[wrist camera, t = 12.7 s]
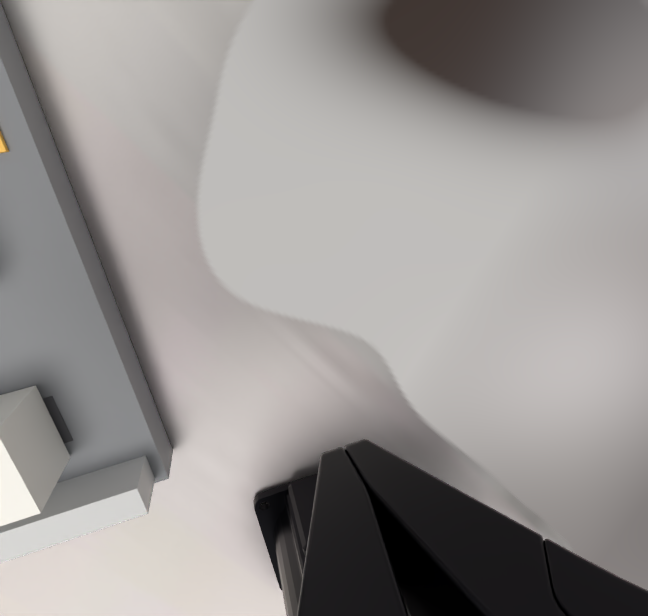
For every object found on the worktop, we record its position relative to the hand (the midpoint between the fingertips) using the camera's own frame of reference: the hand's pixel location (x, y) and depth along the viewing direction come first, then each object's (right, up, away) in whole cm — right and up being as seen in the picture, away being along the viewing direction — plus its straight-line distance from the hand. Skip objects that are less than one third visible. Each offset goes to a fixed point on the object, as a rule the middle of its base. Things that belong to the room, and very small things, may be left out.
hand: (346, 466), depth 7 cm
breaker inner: (-12, -2, +8) cm, 15 cm away
